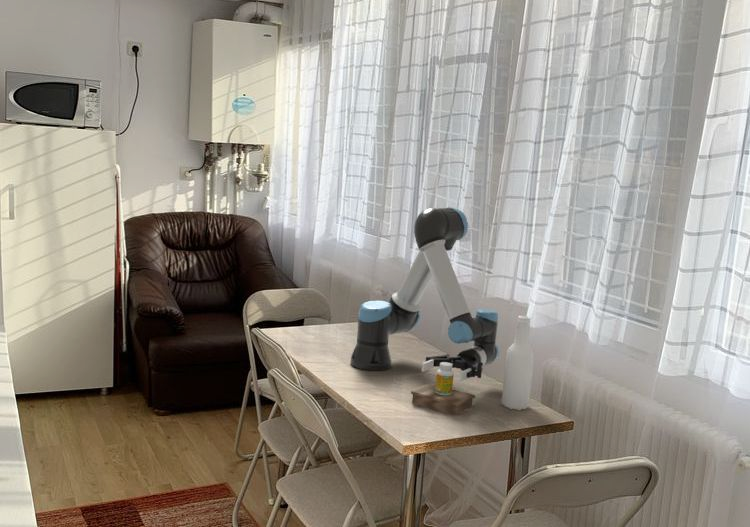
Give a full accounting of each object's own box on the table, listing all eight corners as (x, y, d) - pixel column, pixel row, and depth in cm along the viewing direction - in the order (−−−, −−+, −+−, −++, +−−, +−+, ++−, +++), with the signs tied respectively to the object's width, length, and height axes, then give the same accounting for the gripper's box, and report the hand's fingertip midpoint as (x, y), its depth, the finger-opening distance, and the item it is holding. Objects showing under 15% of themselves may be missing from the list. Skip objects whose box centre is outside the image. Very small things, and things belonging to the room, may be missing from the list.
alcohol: (496, 401, 261) (506, 313, 256) (520, 401, 263) (530, 313, 258) (508, 410, 252) (518, 319, 248) (533, 410, 255) (543, 320, 250)
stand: (409, 403, 252) (410, 391, 252) (427, 394, 262) (428, 383, 262) (457, 416, 243) (458, 403, 243) (474, 407, 253) (475, 395, 253)
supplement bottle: (440, 396, 249) (443, 366, 247) (431, 391, 253) (434, 361, 252) (454, 395, 251) (457, 365, 250) (445, 389, 256) (448, 360, 254)
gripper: (503, 378, 261) (476, 392, 243) (437, 362, 274) (406, 374, 256) (506, 356, 260) (478, 369, 242) (439, 341, 273) (408, 352, 255)
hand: (441, 372), depth 249 cm, fingers open, 13 cm apart
